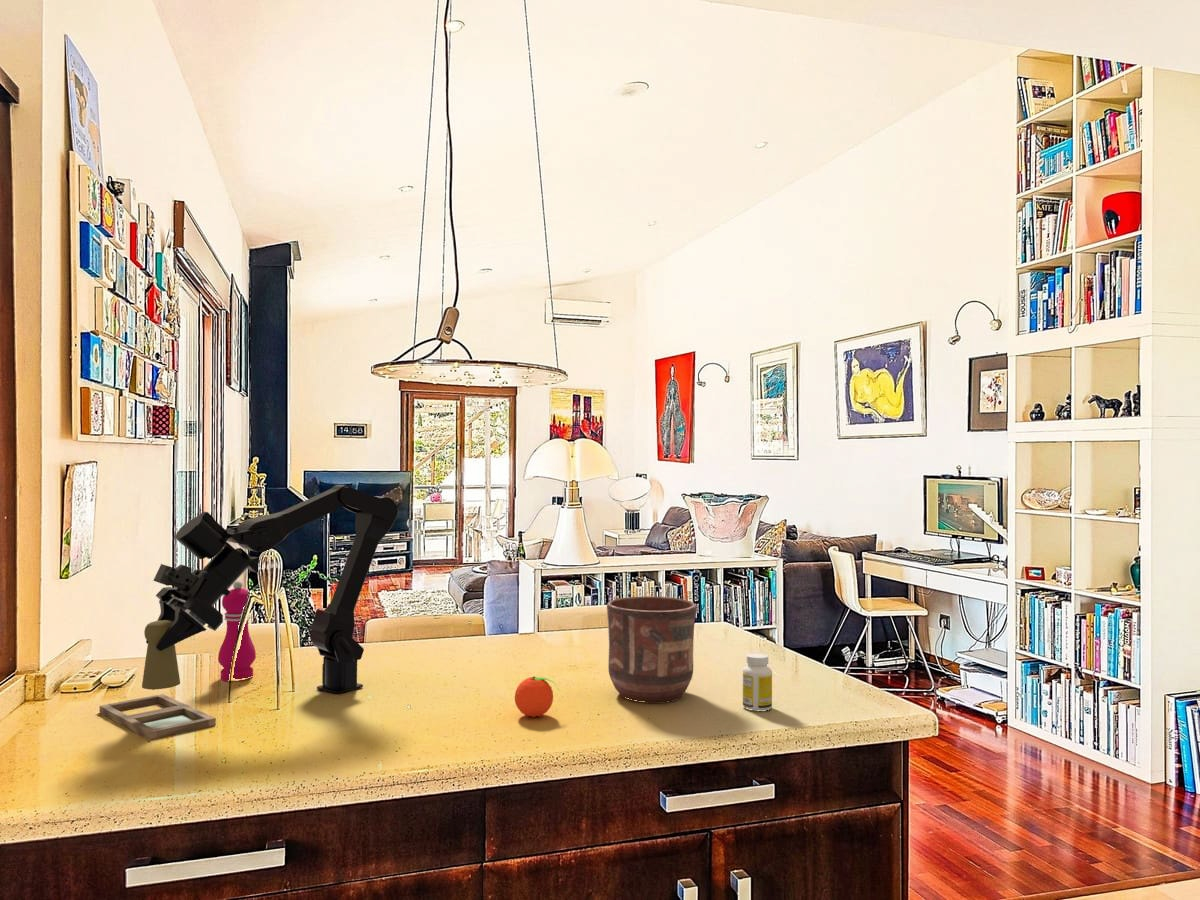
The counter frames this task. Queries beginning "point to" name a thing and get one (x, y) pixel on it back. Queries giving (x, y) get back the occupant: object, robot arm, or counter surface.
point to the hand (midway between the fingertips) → (152, 646)
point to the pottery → (651, 647)
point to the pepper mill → (247, 650)
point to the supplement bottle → (757, 683)
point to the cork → (159, 659)
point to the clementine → (534, 696)
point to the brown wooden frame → (158, 717)
